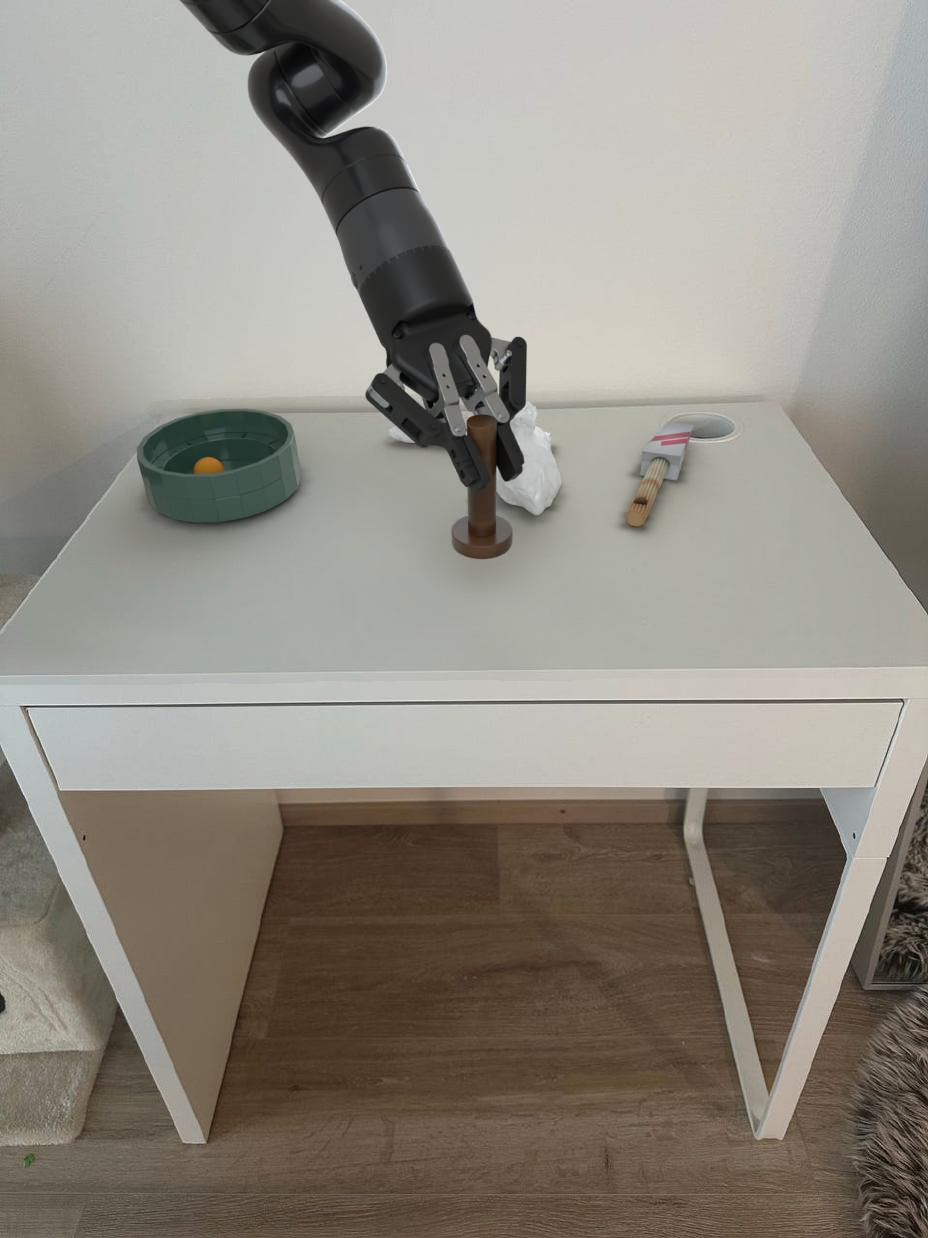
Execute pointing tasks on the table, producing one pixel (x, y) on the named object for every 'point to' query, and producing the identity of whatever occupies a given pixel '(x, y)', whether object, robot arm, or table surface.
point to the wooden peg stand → (483, 502)
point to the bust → (531, 466)
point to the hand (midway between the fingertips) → (498, 481)
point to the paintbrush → (659, 467)
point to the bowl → (241, 443)
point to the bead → (208, 466)
